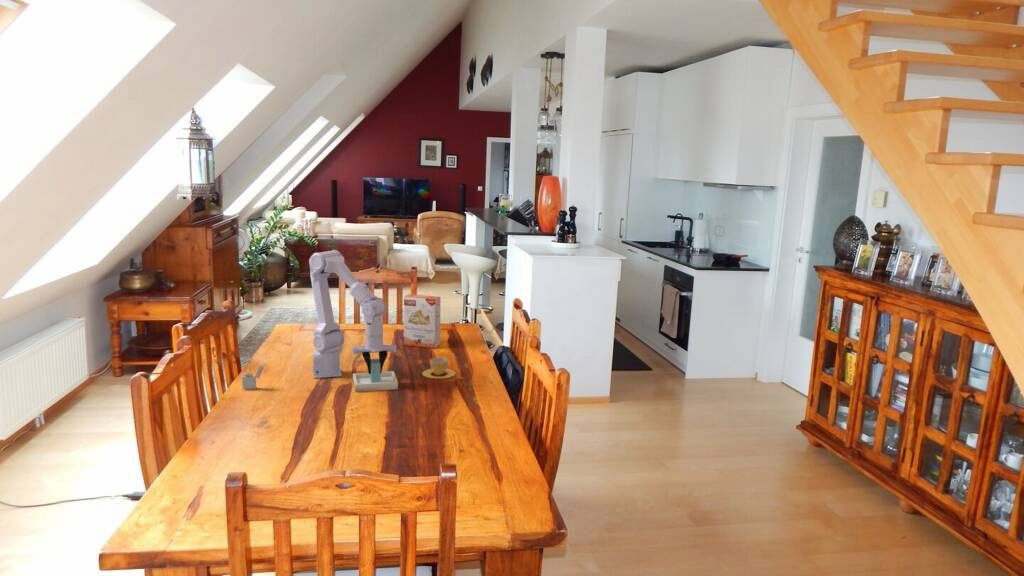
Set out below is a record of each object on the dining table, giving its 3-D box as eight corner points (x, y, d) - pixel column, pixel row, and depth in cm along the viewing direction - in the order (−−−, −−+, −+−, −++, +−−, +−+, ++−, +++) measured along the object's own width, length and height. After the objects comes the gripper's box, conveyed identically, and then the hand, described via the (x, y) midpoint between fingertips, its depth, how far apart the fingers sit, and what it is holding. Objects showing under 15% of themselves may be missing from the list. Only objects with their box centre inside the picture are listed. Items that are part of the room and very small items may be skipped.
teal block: (369, 378, 240) (369, 358, 239) (378, 377, 241) (378, 358, 239) (371, 384, 234) (371, 364, 233) (380, 383, 235) (380, 363, 234)
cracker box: (403, 345, 286) (403, 296, 282) (409, 342, 292) (409, 293, 288) (434, 349, 283) (435, 298, 278) (440, 345, 288) (440, 296, 284)
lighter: (242, 389, 231) (241, 366, 229) (243, 387, 232) (242, 364, 231) (264, 389, 232) (263, 365, 230) (265, 387, 233) (264, 364, 232)
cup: (450, 381, 245) (450, 366, 244) (417, 378, 247) (417, 363, 246) (459, 370, 256) (459, 356, 255) (428, 368, 259) (428, 354, 258)
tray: (355, 392, 231) (355, 384, 230) (352, 380, 242) (352, 373, 242) (397, 388, 235) (397, 381, 234) (393, 377, 246) (393, 371, 246)
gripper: (353, 338, 229) (353, 378, 232) (397, 336, 233) (397, 375, 236) (351, 333, 236) (352, 371, 238) (394, 331, 240) (395, 368, 242)
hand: (374, 372), depth 238 cm, fingers closed on teal block, 3 cm apart
